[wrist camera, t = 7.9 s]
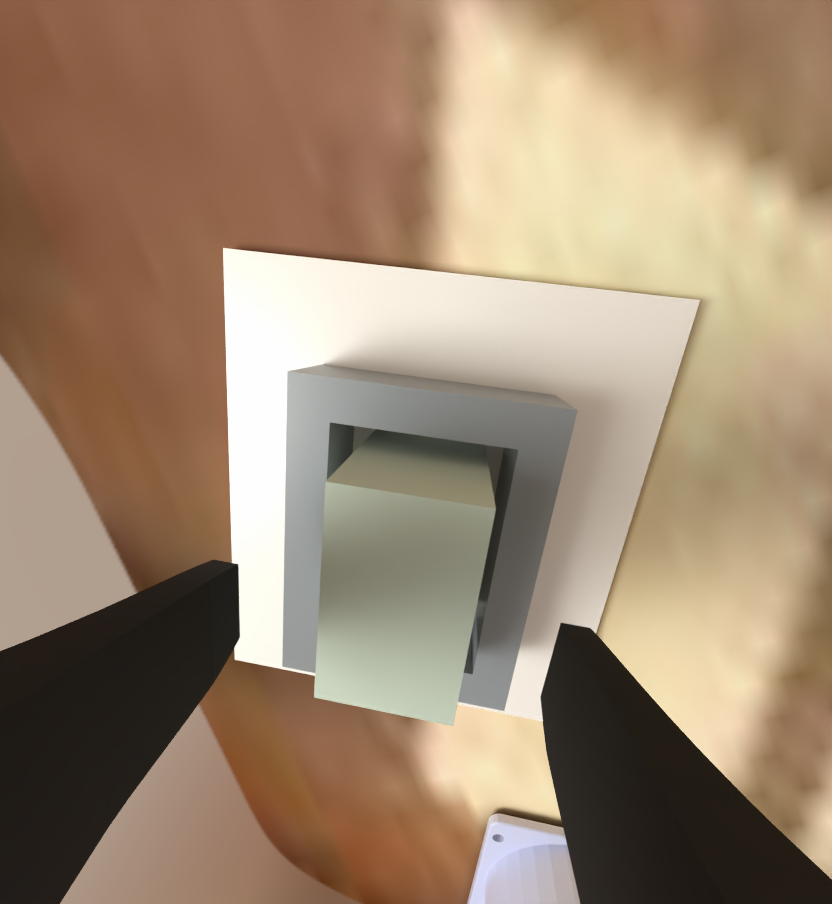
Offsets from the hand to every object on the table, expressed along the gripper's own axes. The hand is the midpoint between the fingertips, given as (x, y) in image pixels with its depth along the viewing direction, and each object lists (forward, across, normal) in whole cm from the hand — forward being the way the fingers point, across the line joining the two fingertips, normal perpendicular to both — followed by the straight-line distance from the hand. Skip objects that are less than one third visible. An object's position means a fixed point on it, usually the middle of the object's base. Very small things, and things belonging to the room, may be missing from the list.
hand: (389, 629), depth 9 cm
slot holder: (+6, 0, 0) cm, 6 cm away
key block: (+5, 0, 0) cm, 5 cm away
